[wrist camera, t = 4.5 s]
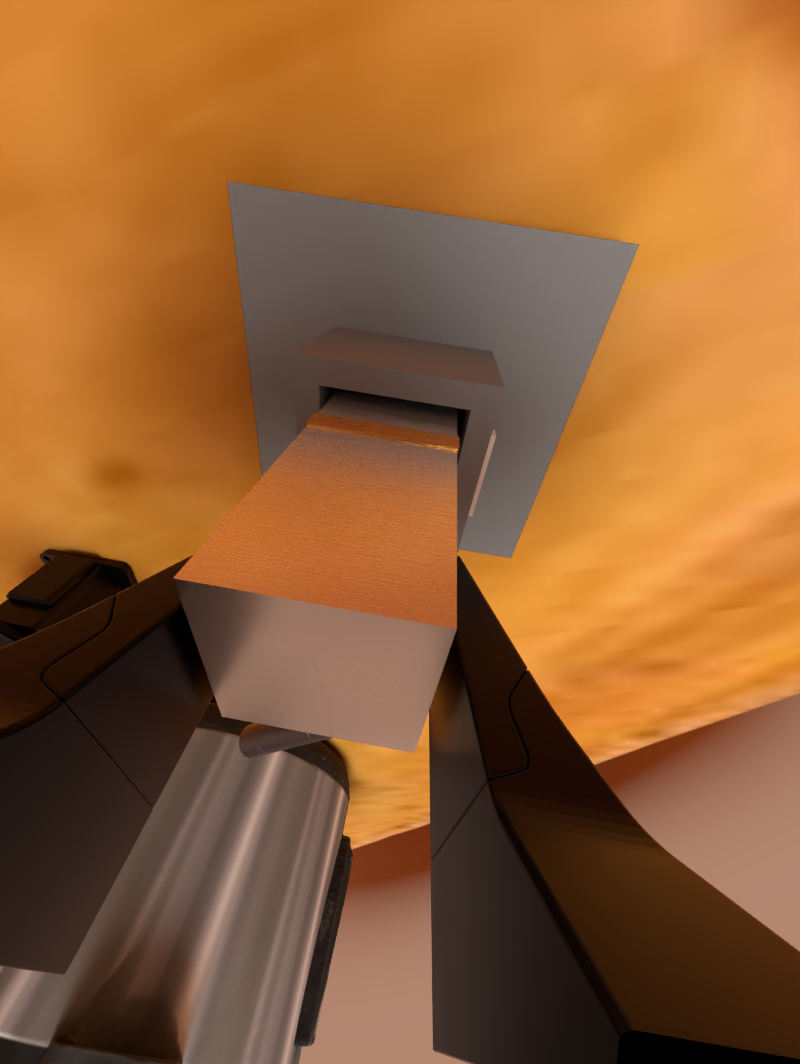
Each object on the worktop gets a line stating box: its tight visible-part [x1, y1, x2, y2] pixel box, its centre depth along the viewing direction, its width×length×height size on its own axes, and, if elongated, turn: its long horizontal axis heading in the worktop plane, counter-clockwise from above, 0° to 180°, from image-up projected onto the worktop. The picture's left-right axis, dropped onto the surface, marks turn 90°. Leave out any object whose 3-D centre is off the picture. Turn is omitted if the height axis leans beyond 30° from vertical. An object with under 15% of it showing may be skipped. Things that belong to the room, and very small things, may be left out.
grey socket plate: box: [227, 182, 639, 558], centre depth 15 cm, size 14×14×6 cm
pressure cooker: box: [0, 703, 353, 1064], centre depth 33 cm, size 30×28×32 cm
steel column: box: [173, 389, 459, 753], centre depth 10 cm, size 4×4×9 cm
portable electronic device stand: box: [239, 723, 333, 758], centre depth 28 cm, size 9×8×8 cm
